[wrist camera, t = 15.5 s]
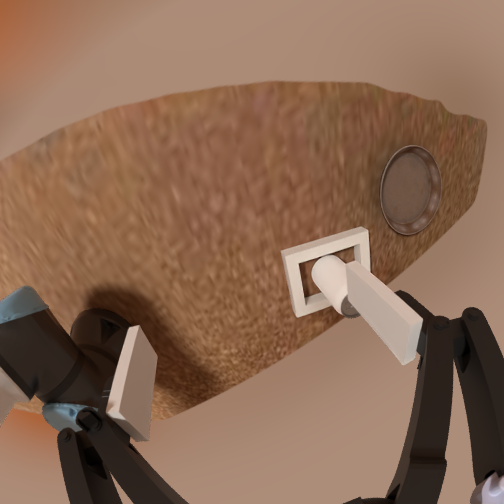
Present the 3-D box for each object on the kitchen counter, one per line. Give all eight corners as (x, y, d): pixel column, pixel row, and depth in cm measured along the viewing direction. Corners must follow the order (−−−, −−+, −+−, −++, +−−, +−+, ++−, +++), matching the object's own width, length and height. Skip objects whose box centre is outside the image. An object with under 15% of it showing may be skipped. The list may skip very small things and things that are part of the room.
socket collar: (293, 310, 52) (297, 317, 50) (280, 250, 47) (284, 256, 44) (364, 284, 53) (370, 290, 51) (361, 226, 48) (368, 230, 45)
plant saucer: (440, 162, 46) (450, 164, 43) (419, 237, 52) (428, 242, 49) (384, 130, 42) (394, 130, 39) (360, 219, 47) (368, 224, 45)
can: (344, 277, 51) (375, 310, 40) (314, 290, 51) (341, 326, 40) (338, 248, 49) (372, 277, 38) (307, 261, 48) (335, 295, 37)
